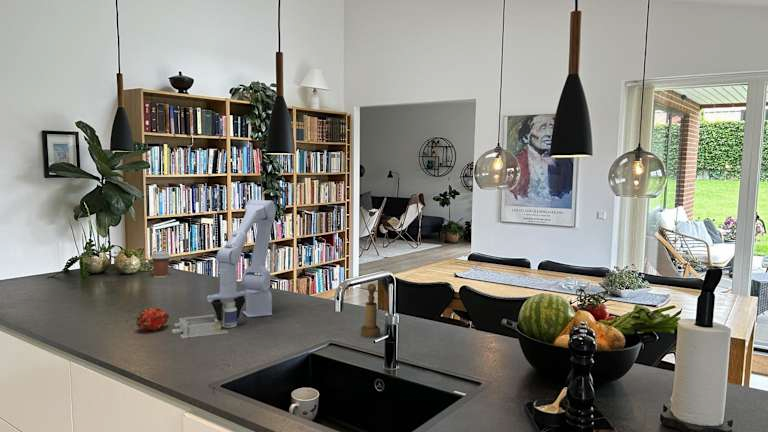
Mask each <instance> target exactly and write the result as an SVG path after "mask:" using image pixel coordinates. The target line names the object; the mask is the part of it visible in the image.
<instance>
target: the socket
mask: <svg viewBox="0 0 768 432" xmlns="http://www.w3.org/2000/svg"><path fill="white" fill-rule="evenodd" d="M215 317H216V316H215V314H207V315H199V316H189V317H187V316H186V317H181V318H178V323H177V322H176V323H174V327H175V329H174V328H173V329H171V333H172V334H178V333H182V332H183V333H182V334H180V339H188V337H190V338H196V337H197V336H198V337H204V336H205V337H206V336H212V335H213V336H215V335H222V334H228V333H229V331H228V328H224V329H222V322H221V321H218V320H217V318H215ZM198 337H197V338H198Z"/></svg>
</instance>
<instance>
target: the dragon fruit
mask: <svg viewBox="0 0 768 432" xmlns="http://www.w3.org/2000/svg"><path fill="white" fill-rule="evenodd" d="M168 319H170V317H169V315H168V313H167V312H165V310H162V309H160V307H159V306H156V307H155V308H152V307H149V308H147V309H144V308H143V309H142V310H141V311H140V312H139V313H138V314H137V316H136V325H137V326H138V328H139V329H140V330H143V329H144V331H145V332H148V331H149V330H150V331H154V332H155V331H157V330H159V329H160V330H162V329H163V328H165V326H164V325H166V323H167V321H168Z"/></svg>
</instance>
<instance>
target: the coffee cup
mask: <svg viewBox="0 0 768 432" xmlns="http://www.w3.org/2000/svg"><path fill="white" fill-rule="evenodd" d="M150 258H151V259H152V269H153V277H154V278H159V279H161V278H167V277H168V276H169V266H170V265H169V264H170V258H171V254H169V251H154V252H153V253H152V255H151V256H150Z"/></svg>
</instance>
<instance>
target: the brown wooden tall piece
mask: <svg viewBox="0 0 768 432" xmlns="http://www.w3.org/2000/svg"><path fill="white" fill-rule="evenodd" d="M376 290H377V285H376V284H375V283H369V284H368V285H367V291H368V294H369V295H368V297H367V299H368V302H366V303H365V313H364V316H365V318H364V319H365V320H364V325H363V326H362V327H360V335H361V336H362V337H364V338H369V339H371V338H372V339H373V338H378V337H379V335H381V328H380V327H379V326H378V325H377V315H378V314H377V313H378V312H377V309H378V308H377V306H378V303H377V302H374V301H375V298H376V297H375V292H376Z"/></svg>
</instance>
